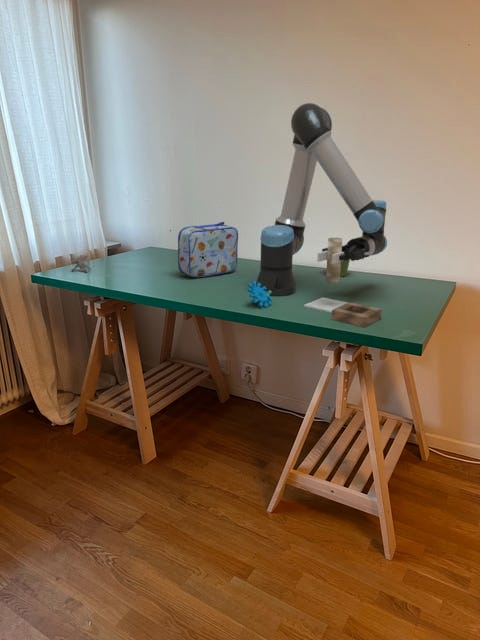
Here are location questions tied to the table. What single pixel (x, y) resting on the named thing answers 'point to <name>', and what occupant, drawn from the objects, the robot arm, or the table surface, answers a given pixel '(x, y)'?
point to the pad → (325, 304)
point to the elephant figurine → (80, 264)
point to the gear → (259, 294)
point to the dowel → (332, 269)
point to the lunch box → (207, 250)
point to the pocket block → (356, 314)
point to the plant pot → (344, 267)
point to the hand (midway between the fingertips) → (325, 258)
